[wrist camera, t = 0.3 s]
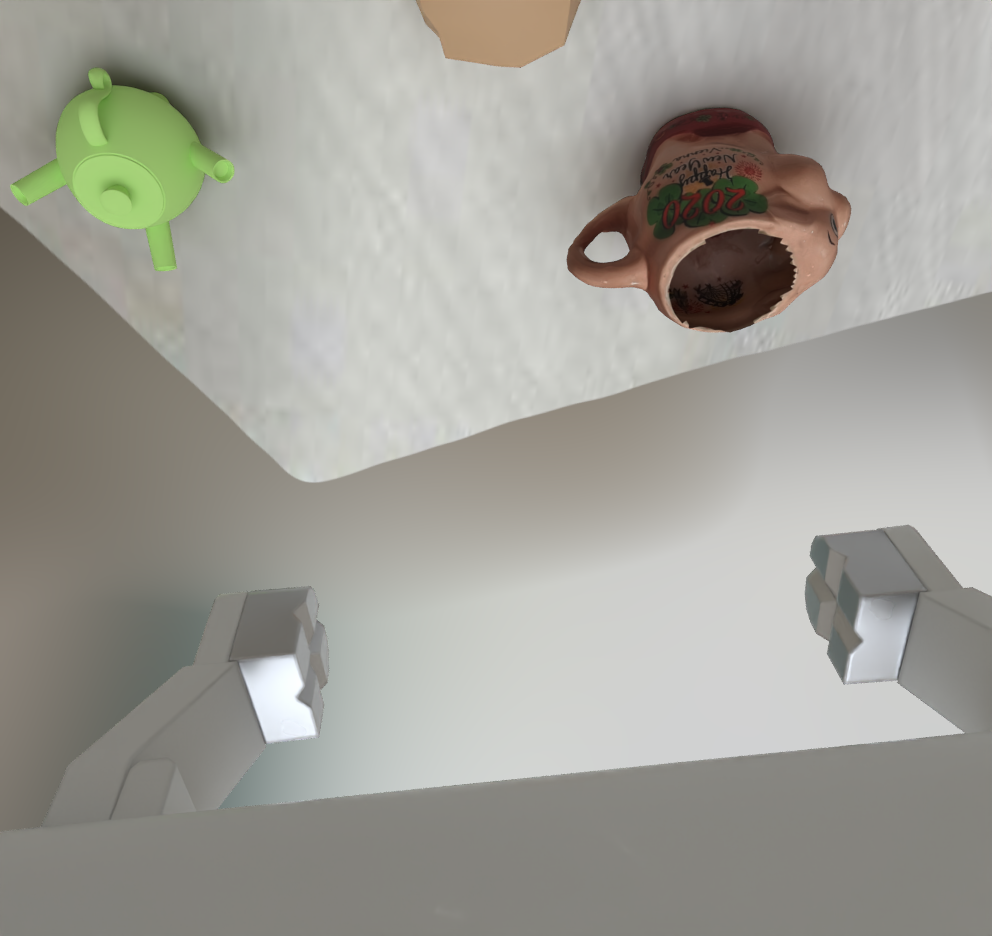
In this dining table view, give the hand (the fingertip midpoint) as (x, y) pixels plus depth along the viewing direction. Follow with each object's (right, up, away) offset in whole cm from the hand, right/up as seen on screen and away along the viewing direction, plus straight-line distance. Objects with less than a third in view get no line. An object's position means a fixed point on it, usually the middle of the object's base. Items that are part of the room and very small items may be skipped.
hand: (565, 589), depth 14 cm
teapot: (-26, +25, +48) cm, 60 cm away
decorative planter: (+13, +25, +52) cm, 60 cm away
